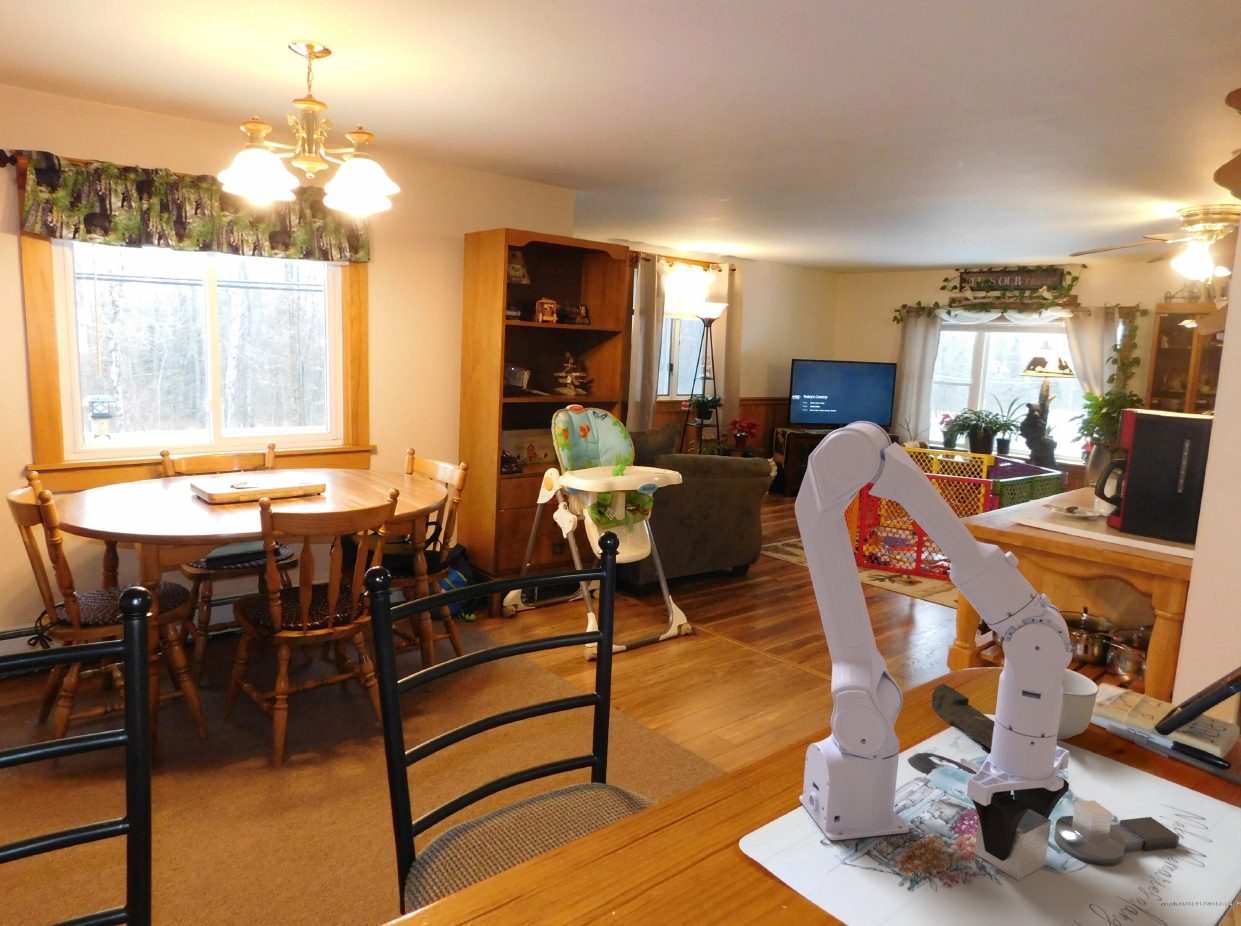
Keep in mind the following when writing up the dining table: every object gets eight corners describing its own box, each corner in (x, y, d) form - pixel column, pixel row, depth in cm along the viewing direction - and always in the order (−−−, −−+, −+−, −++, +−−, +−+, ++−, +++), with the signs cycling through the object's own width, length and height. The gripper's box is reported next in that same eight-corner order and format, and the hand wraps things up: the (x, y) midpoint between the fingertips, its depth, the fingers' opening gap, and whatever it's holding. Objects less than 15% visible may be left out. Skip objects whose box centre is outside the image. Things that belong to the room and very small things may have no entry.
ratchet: (1085, 869, 81) (1091, 828, 80) (1040, 831, 87) (1045, 793, 87) (1192, 856, 84) (1198, 816, 83) (1141, 820, 90) (1146, 783, 89)
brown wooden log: (1043, 776, 99) (1048, 741, 99) (1016, 779, 98) (1020, 744, 98) (948, 707, 117) (951, 678, 117) (924, 709, 116) (927, 679, 116)
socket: (1018, 880, 79) (1023, 834, 78) (974, 853, 83) (979, 809, 82) (1045, 865, 81) (1050, 820, 81) (1001, 839, 86) (1006, 796, 85)
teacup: (1012, 704, 119) (1018, 653, 117) (1095, 726, 112) (1102, 673, 111) (992, 740, 107) (999, 684, 106) (1084, 767, 101) (1092, 708, 100)
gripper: (1022, 760, 73) (1005, 893, 75) (1105, 724, 80) (1088, 846, 82) (954, 727, 79) (941, 851, 81) (1037, 696, 86) (1023, 811, 88)
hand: (1011, 846), depth 82 cm, fingers closed on socket, 5 cm apart
